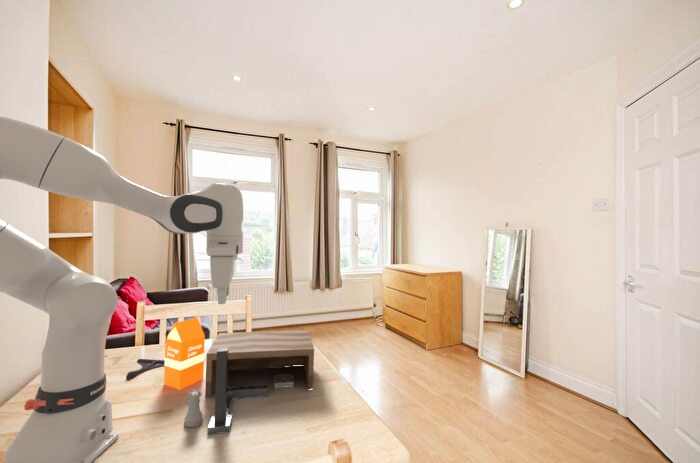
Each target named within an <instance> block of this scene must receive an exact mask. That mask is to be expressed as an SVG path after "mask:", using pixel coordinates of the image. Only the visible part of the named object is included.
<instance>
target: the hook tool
mask: <svg viewBox="0 0 700 463" xmlns="http://www.w3.org/2000/svg"><path fill="white" fill-rule="evenodd" d="M228 372H229V371H228V348H218V350H217V361H216V386H215V390H214V391H215V394H214V395H215V397H214V399H215V400H214V415H212V416H211V418H210V421H209V422H208V423H209V424H208V426H207V435H211V434H210V433H215V434H219V433H218V432H226V433H230V430H231V427H230V426H231V425H232V423H231V422H233V414H230V412H231V408H232V405H233V400H235V399H234V398H238V399H245V398H244V397H252V398H259V397H258V396H265V397H268V394H267V393H268V390H269V388H268V387H269V385H268V384H266V385H264V384H263V385H262V384H261V385H248V386H247V385H246V386H245V385H244V386H234V387H232V386H231V387H228V377H229V375H228ZM229 411H230V412H229Z"/></svg>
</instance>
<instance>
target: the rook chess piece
mask: <svg viewBox="0 0 700 463" xmlns="http://www.w3.org/2000/svg"><path fill="white" fill-rule="evenodd" d="M201 396H202V393H201V390H199V389H193V390H190V391H189V393H188V394H187V396H186V397H187V399H188V401H187V403H188V409H187V413H186V415H185V417H184V418H183V419H184V422H183V425H184V426H185V427H186V428H195V427H198V426H199V425H201V424H202V423H203V421H204V419H203V418H204V415H203V413H202V410H201V408H200V407H201V406H200V402H201V399H200V398H201Z"/></svg>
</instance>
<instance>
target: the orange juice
mask: <svg viewBox="0 0 700 463" xmlns="http://www.w3.org/2000/svg"><path fill="white" fill-rule="evenodd" d="M205 338H206V336H205V332H204V331H203V328H202V326H201V323H200V321H199V319H198V317H193V318H189V319H186V320H183V321H178V322H175V323H173V326H172V327H171V330H170V331H169V332H168V334H167V336H166V338H165V342H164V343H165V346H164V347H165V348H164V349H165V350H164V360H165V366H164V374H163V375H164V378H163V379H164V380H163V384H164V385H165V386H168V387H172V388H173V389H177V390H182V389H184V388H186V387H189V386H191V385H193V384H195V383H197V382H199V381H201V380H204V371H205V370H204V369H205V368H204V367H205V366H204V365H205V363H204V362H205Z"/></svg>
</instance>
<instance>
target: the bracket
mask: <svg viewBox="0 0 700 463" xmlns="http://www.w3.org/2000/svg"><path fill="white" fill-rule="evenodd" d="M136 362H137V364H138V365H141V368H139V369H136V370H134V371H132V370H131V371H129V372H127V374H126V376H125V377H126V378H125V379H126V380H127V381H130V380H133V379H134V378H136V377H137V376H139V375H140V374H142V373H144V372H146V371H150V370H152V369H156V368H162V367H165V359H151V358H149V359H147V358H138V359H137V361H136Z"/></svg>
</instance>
